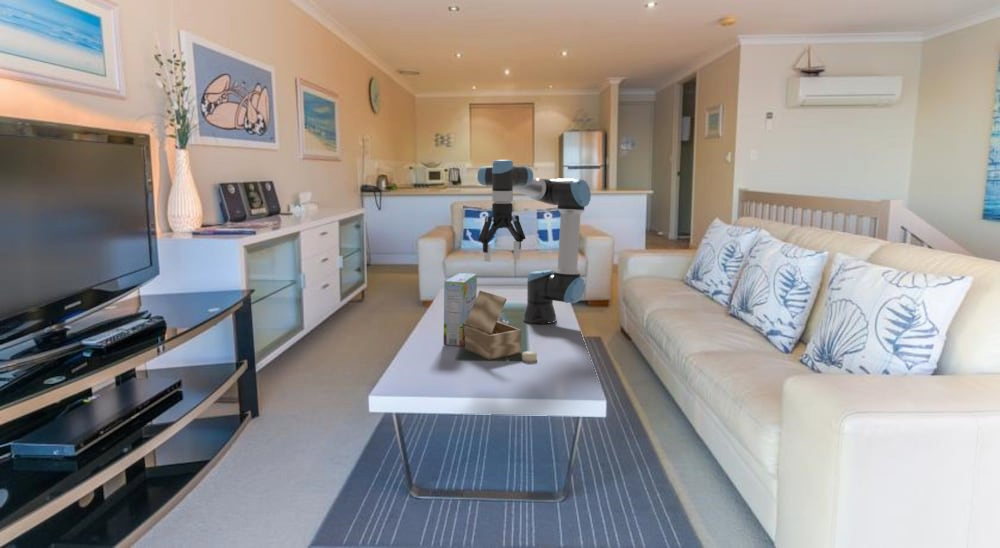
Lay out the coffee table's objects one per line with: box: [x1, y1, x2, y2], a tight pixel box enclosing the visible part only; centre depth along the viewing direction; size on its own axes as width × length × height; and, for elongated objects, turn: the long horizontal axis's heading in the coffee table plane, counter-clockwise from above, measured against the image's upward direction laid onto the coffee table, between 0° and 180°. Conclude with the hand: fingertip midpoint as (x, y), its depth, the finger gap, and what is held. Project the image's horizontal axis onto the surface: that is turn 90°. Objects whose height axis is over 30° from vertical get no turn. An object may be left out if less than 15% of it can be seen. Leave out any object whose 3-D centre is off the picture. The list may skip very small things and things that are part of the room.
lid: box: [465, 290, 507, 335], centre depth 211 cm, size 14×17×1 cm
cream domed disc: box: [521, 350, 538, 363], centre depth 206 cm, size 5×5×2 cm
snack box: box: [443, 272, 478, 347], centre depth 230 cm, size 22×9×26 cm, turn 168°
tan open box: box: [464, 320, 522, 361], centre depth 215 cm, size 15×16×9 cm
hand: (502, 259), depth 213 cm, fingers open, 13 cm apart
